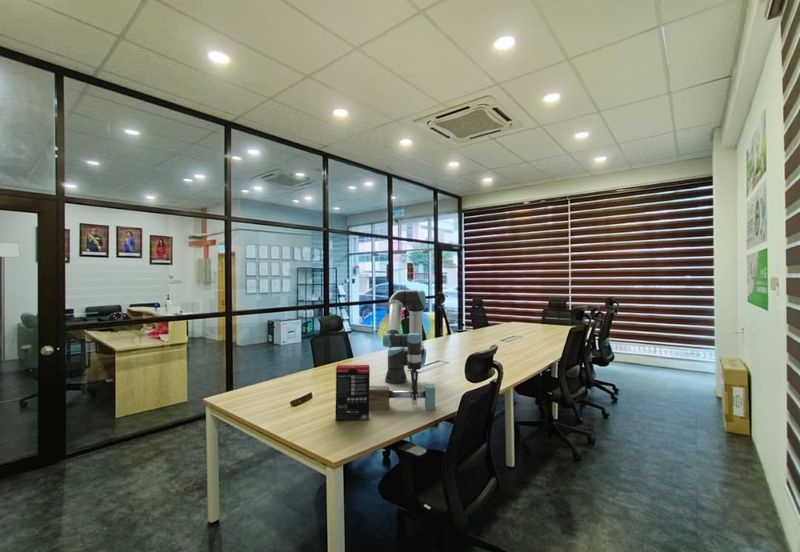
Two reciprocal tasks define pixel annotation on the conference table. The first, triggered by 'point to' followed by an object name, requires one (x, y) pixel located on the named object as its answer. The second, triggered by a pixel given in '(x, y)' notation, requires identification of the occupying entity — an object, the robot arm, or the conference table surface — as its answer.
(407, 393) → the tube
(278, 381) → the conference table surface
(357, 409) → the graphics card box
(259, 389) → the conference table surface
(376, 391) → the brown wooden block
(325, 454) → the conference table surface
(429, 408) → the teal rectangular block
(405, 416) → the conference table surface
